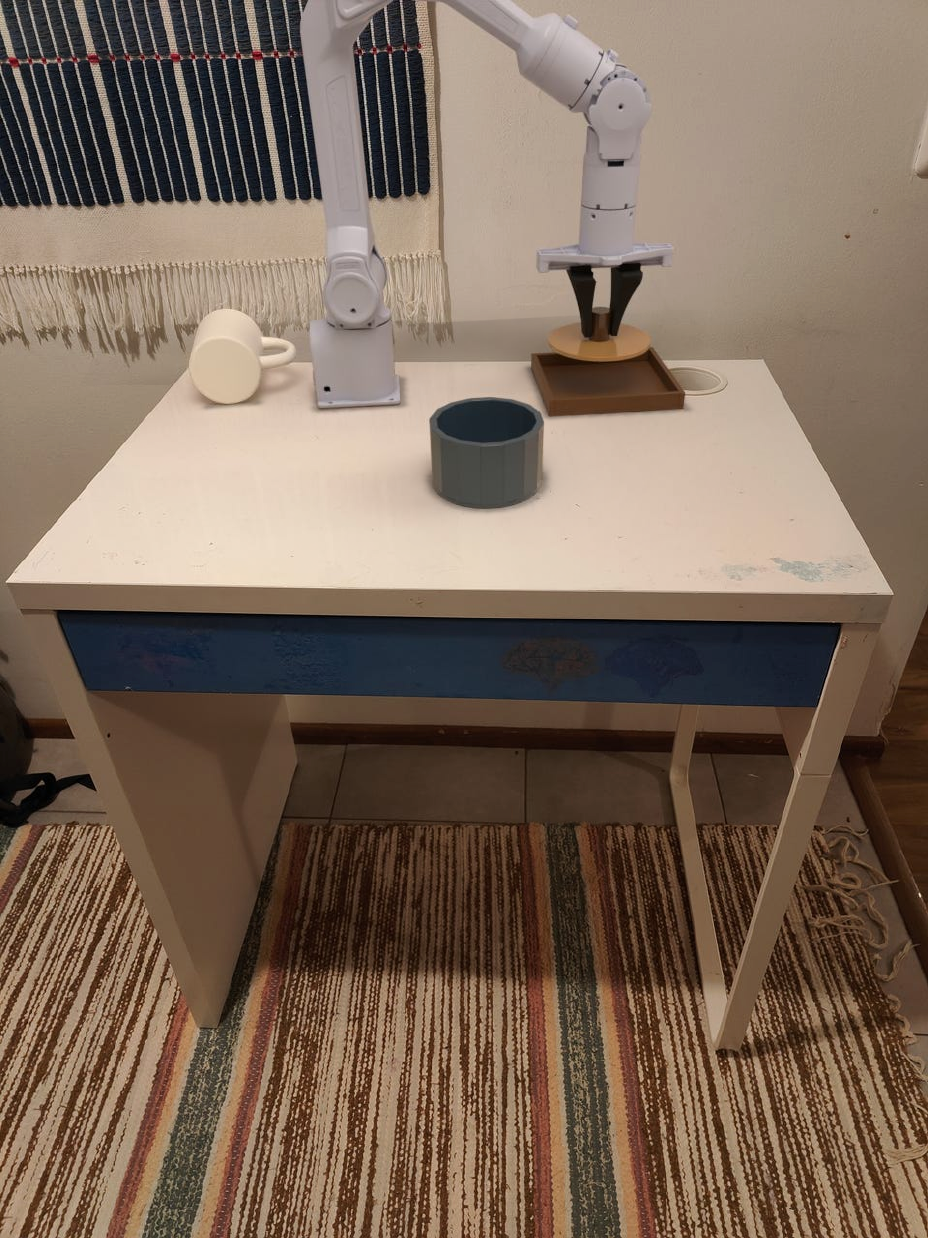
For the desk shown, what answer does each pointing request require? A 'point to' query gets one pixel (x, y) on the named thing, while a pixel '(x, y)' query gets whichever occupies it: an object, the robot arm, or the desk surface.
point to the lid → (599, 340)
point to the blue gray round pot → (486, 451)
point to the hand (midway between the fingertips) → (598, 333)
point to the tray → (605, 384)
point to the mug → (233, 356)
